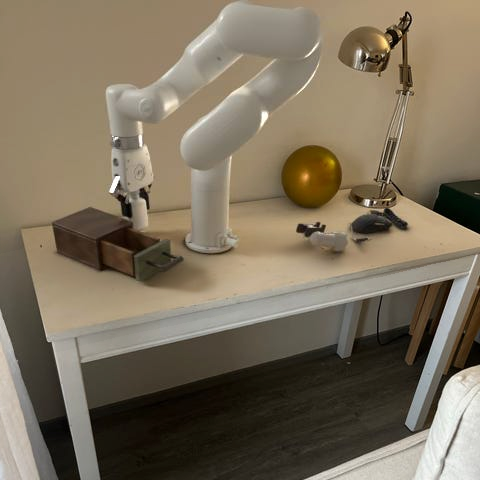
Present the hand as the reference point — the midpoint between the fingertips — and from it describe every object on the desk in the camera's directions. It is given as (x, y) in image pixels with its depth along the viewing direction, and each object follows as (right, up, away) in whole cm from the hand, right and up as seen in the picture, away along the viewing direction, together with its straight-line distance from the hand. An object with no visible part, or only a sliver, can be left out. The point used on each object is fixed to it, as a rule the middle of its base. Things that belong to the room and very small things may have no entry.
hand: (136, 211), depth 131 cm
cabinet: (-9, -11, -6) cm, 15 cm away
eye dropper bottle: (0, -4, +3) cm, 5 cm away
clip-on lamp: (+52, -8, +4) cm, 53 cm away
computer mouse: (+66, 0, +17) cm, 68 cm away
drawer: (+4, -16, -13) cm, 21 cm away
